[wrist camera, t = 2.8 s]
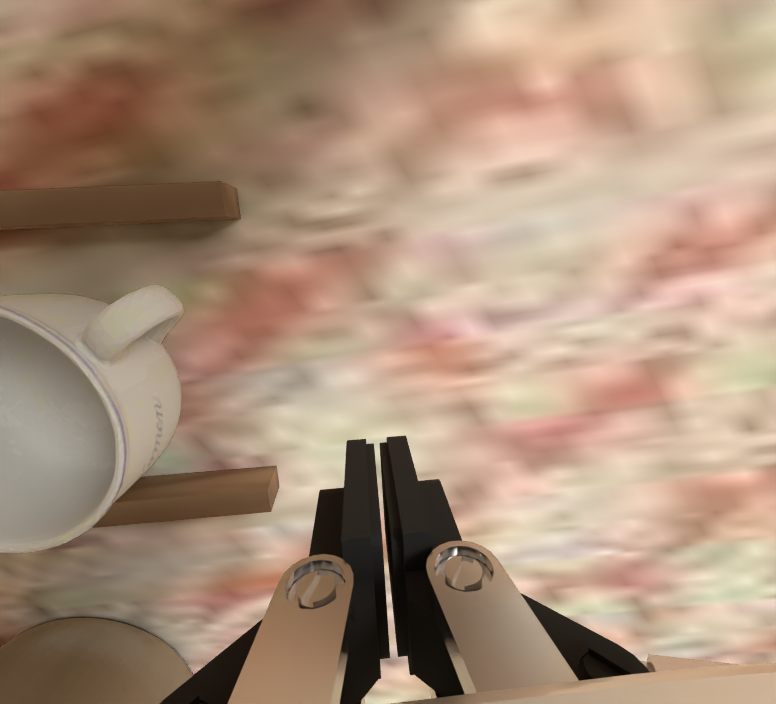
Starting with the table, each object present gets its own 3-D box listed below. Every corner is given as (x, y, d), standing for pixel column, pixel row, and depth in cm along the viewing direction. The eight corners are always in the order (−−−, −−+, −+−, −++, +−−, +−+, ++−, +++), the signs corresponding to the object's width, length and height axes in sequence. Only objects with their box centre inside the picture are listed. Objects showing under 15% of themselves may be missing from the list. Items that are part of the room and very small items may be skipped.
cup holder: (-67, 201, 20) (-127, 195, 17) (236, 188, 20) (219, 181, 18) (37, 506, 24) (3, 535, 22) (279, 486, 25) (270, 511, 23)
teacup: (88, 484, 24) (-37, 596, 17) (-41, 335, 21) (-265, 386, 14) (283, 385, 24) (246, 454, 16) (176, 216, 21) (67, 199, 13)
